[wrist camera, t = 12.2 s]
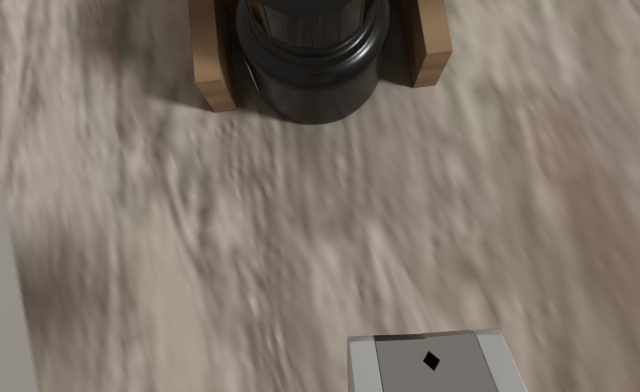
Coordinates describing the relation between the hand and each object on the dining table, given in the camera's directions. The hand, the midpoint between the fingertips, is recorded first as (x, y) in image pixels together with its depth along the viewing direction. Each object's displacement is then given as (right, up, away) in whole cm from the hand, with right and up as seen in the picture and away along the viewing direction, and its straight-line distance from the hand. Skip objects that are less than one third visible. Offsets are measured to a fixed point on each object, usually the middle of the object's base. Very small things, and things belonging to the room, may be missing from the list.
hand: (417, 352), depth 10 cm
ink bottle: (-2, +12, +25) cm, 27 cm away
